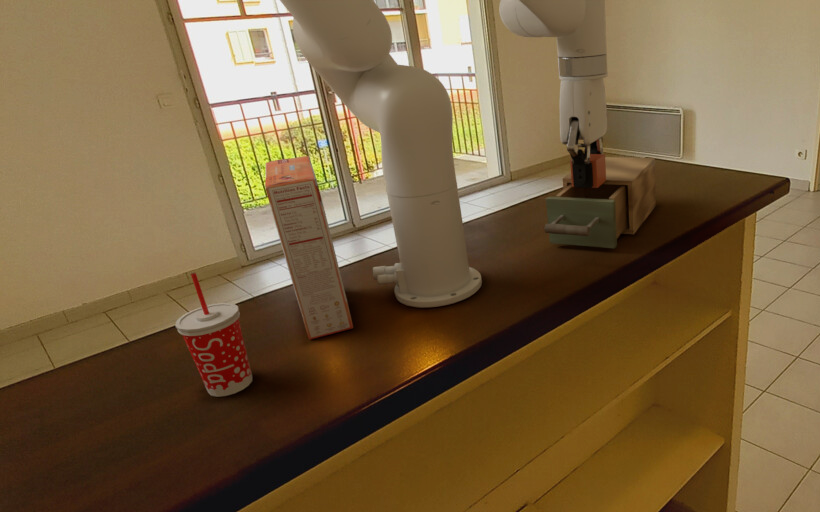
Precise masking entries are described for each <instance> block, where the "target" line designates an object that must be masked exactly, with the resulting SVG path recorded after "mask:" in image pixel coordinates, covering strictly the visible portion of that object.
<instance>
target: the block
mask: <svg viewBox="0 0 820 512" xmlns="http://www.w3.org/2000/svg"><path fill="white" fill-rule="evenodd" d="M605 157H606V154H605V153H603V154H590V163H592V171H593V187H591V188H598V187H599V186H600V185H602V184H603V183H604V182H605V181H606V164H605ZM569 164H570V172H571V182H572V187H574V184H573V168H572V163H571V159H570V160H569Z"/></svg>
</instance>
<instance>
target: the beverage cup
mask: <svg viewBox="0 0 820 512" xmlns="http://www.w3.org/2000/svg"><path fill="white" fill-rule="evenodd" d="M190 276H191V279H192V282H193V285H194V289H195V291H196V295H197V297H198V300H199V303H200V307H197V308H195V309H192V310H189V311H187V312H186V313H184V314H182V315H181V316H180V317H179V318H178V319H176V320H175V324H174V325H175V329H176V330H177V333H179V334H180V335H181V336H182V338H183V340H184V342H185V344H186V347H187V349H188V351H189V353H190V355H191V358H192V360H193V362H194V364H195V366H196V369H197V371H198V373H199V375H200V378H201V380H202V382H203V384H204V387H205V389H206V391H207V394H209V395H210V396H211V397H217V398H218V397H227V396H231V395H234V394H237V393H239V392H241V391H243V390H244V389H246V388H248V387H249V386H250V384H252V382H253V374H252V370H251V369H252V368H251V365H250V362H249V357H248V352H247V347H246V344H245V339H244V335H243V331H242V326H241V322H240V318H241V317H240V316H241V313H240V308H239V306H238V305H237V304H235V303H231V302H218V303H217V302H216V303H211V304H207V303H206V300H205V296H204V293H203V290H202V288H201V284H200V281H199V279H198V275H197V273H196V272H191V273H190Z"/></svg>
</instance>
